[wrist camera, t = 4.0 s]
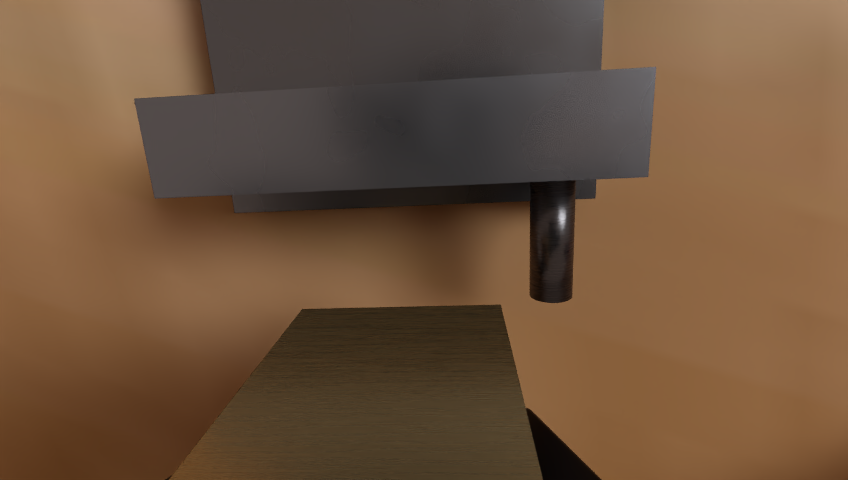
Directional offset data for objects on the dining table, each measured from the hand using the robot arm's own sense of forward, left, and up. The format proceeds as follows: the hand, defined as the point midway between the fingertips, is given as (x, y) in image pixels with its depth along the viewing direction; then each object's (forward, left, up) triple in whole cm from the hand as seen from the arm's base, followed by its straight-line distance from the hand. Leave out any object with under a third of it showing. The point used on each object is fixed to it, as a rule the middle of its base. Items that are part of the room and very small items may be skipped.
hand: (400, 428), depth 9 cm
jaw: (+4, 0, -5) cm, 6 cm away
